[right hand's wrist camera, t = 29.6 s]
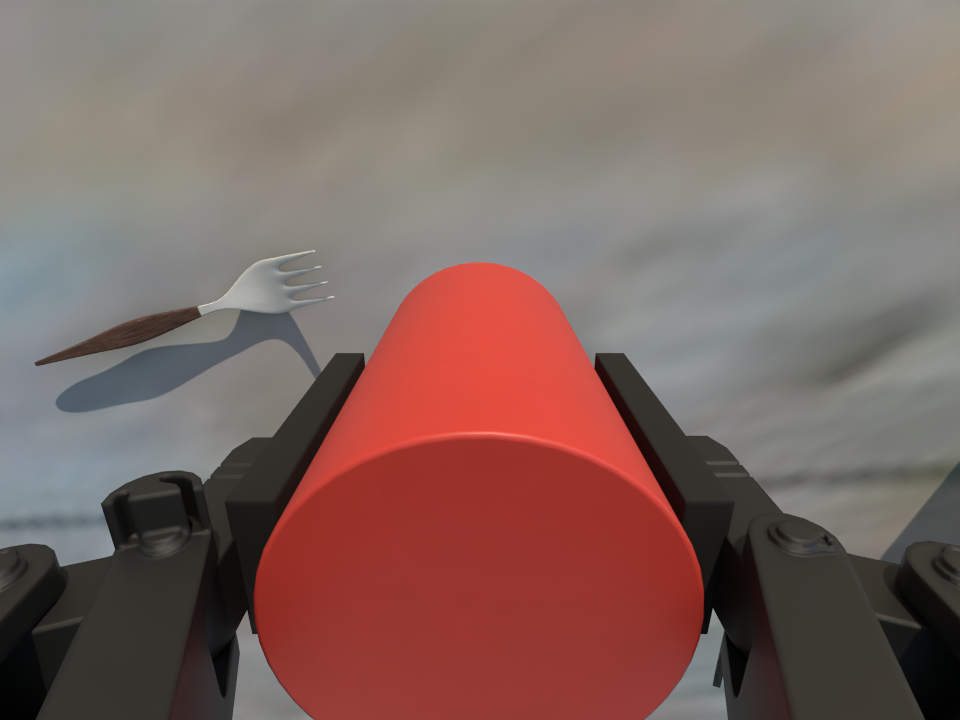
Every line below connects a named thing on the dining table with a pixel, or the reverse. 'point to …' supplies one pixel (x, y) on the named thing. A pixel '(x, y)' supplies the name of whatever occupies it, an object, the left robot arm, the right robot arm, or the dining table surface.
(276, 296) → the fork
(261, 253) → the dining table surface
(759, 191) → the dining table surface
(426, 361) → the can
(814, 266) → the dining table surface
